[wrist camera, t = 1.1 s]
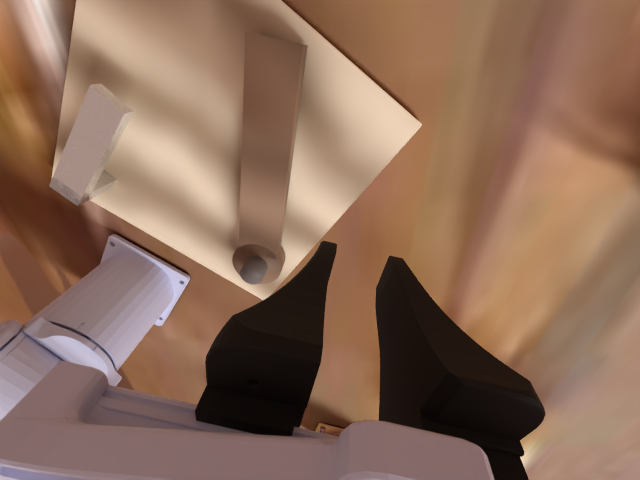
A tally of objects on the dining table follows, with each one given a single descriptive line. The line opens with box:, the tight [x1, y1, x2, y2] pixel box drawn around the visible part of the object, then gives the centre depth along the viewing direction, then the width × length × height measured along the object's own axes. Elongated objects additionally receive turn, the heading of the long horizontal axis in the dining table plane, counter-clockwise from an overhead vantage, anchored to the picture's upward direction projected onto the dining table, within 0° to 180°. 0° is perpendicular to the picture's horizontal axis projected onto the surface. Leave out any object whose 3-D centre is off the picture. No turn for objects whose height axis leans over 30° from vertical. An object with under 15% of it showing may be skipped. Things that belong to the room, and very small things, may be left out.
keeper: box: [49, 84, 134, 206], centre depth 19 cm, size 8×2×3 cm, turn 135°
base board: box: [52, 0, 422, 300], centre depth 20 cm, size 20×20×1 cm
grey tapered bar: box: [232, 31, 308, 285], centre depth 19 cm, size 17×4×3 cm, turn 169°
